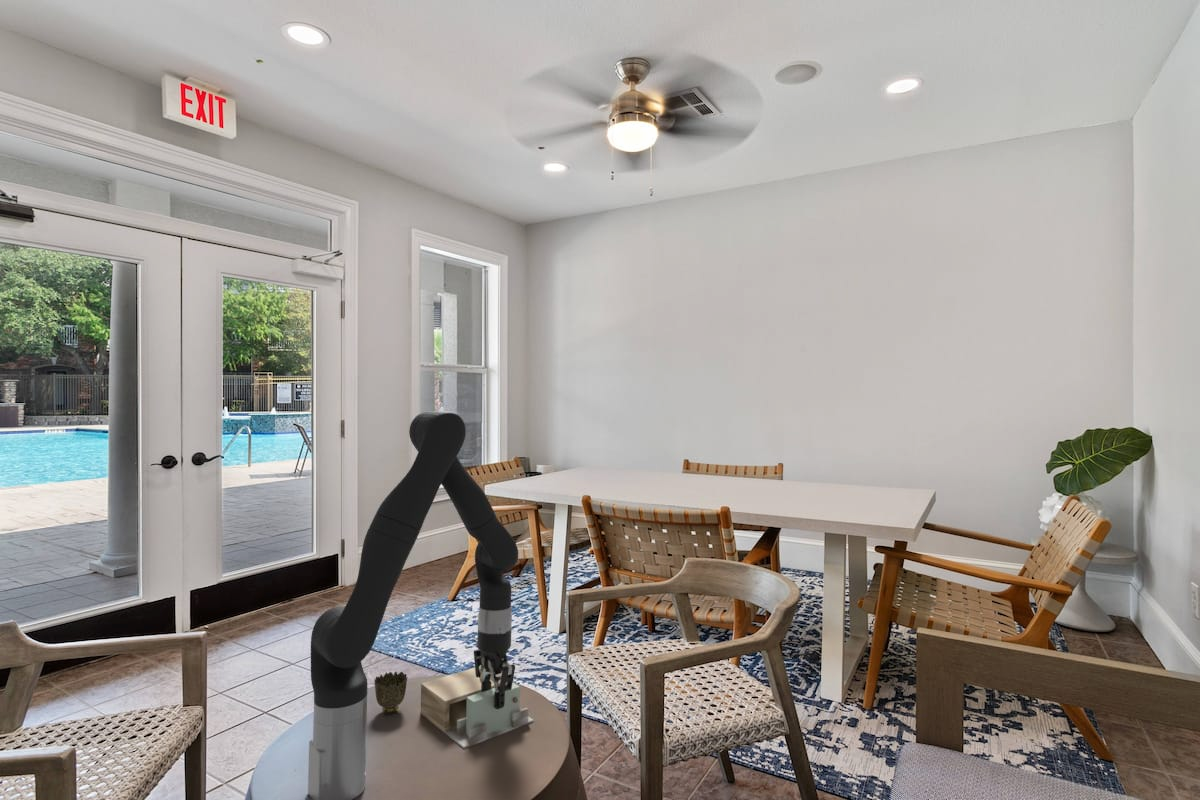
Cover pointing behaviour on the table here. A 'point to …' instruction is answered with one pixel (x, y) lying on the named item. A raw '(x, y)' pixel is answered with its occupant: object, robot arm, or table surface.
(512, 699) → the door
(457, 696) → the cabinet
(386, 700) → the cup
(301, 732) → the table surface
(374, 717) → the table surface
